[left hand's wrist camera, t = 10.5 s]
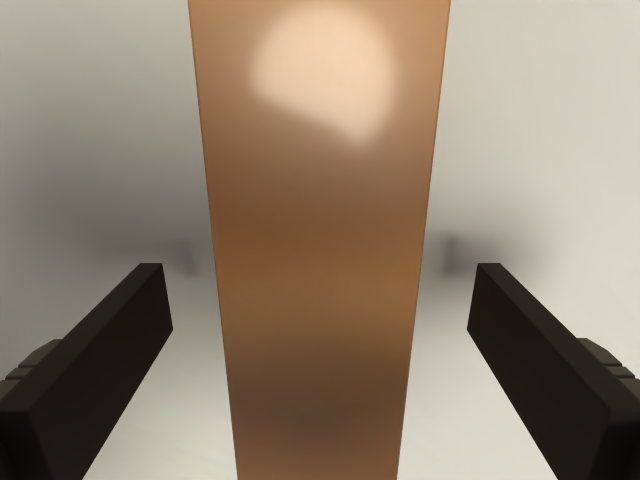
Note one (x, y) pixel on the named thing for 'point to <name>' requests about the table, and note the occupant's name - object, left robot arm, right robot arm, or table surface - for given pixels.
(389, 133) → the post
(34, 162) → the table surface
